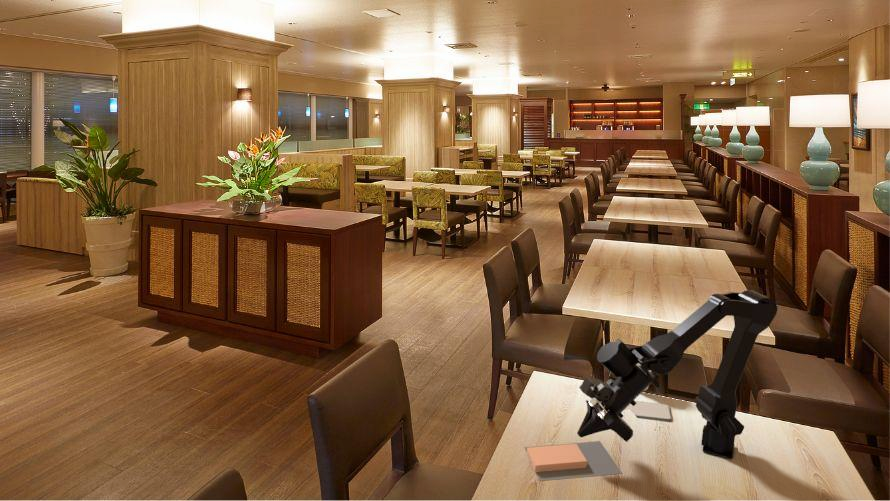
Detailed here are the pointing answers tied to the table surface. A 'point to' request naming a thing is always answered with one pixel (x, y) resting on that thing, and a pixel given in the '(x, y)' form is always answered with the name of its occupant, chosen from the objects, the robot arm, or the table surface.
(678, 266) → the table surface
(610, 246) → the table surface
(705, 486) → the table surface
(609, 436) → the table surface
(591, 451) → the rubber mat
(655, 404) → the smartphone
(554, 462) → the terracotta tile
